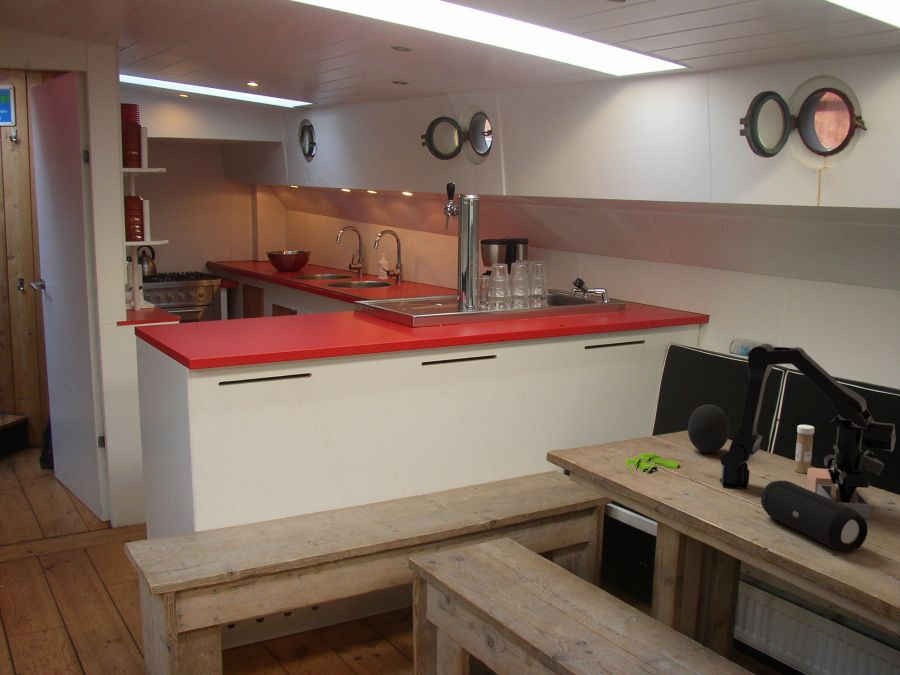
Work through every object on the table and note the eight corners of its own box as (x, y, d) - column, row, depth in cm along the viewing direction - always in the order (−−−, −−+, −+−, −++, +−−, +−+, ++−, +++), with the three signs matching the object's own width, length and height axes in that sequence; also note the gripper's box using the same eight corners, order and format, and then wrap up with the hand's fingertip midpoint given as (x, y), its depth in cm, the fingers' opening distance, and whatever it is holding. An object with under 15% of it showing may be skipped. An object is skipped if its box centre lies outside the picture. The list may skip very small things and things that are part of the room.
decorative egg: (697, 458, 269) (701, 410, 267) (679, 447, 281) (682, 400, 279) (735, 457, 272) (739, 409, 269) (715, 445, 284) (718, 399, 281)
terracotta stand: (814, 494, 239) (816, 478, 239) (806, 483, 248) (807, 467, 247) (849, 496, 238) (851, 480, 237) (840, 485, 247) (841, 469, 246)
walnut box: (834, 509, 228) (836, 488, 227) (830, 504, 232) (832, 483, 231) (854, 510, 227) (857, 489, 226) (850, 505, 231) (852, 484, 230)
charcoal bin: (831, 516, 223) (832, 502, 223) (816, 497, 237) (817, 484, 236) (869, 518, 222) (871, 505, 221) (853, 499, 236) (854, 486, 235)
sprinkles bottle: (811, 474, 256) (815, 428, 254) (794, 472, 258) (798, 427, 255) (809, 469, 261) (813, 425, 258) (793, 468, 262) (797, 423, 260)
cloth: (651, 453, 276) (651, 446, 275) (704, 473, 257) (705, 465, 257) (600, 462, 265) (600, 454, 265) (652, 483, 247) (652, 475, 247)
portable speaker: (756, 518, 221) (759, 479, 220) (788, 513, 225) (791, 475, 223) (834, 557, 198) (838, 514, 196) (868, 552, 201) (873, 509, 200)
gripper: (894, 456, 216) (888, 518, 219) (870, 436, 235) (864, 493, 237) (846, 453, 218) (840, 514, 221) (826, 433, 236) (820, 490, 239)
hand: (842, 502), depth 229 cm, fingers closed on walnut box, 4 cm apart
